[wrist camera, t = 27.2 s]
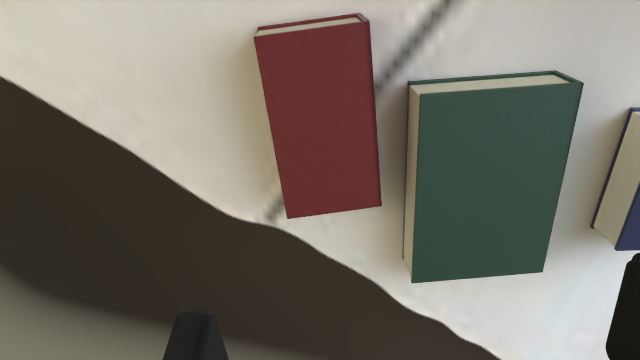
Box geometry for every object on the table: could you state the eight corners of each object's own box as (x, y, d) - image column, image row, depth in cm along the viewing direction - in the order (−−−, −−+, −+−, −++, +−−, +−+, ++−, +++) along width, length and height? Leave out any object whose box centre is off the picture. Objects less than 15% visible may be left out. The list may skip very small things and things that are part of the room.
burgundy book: (360, 13, 30) (369, 20, 26) (372, 181, 36) (381, 206, 32) (257, 27, 30) (253, 36, 26) (287, 192, 36) (287, 219, 32)
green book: (556, 70, 33) (584, 82, 29) (523, 247, 40) (542, 272, 37) (408, 81, 32) (420, 95, 29) (402, 257, 40) (411, 283, 37)
